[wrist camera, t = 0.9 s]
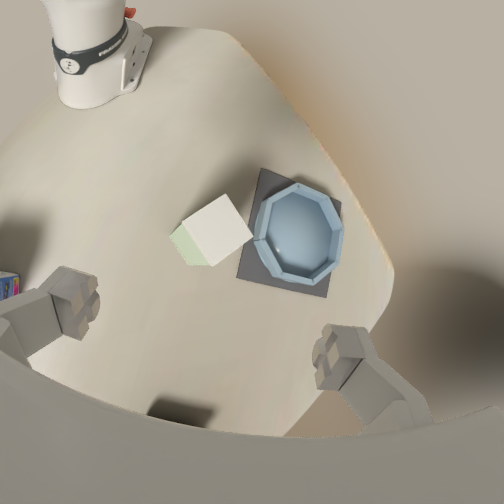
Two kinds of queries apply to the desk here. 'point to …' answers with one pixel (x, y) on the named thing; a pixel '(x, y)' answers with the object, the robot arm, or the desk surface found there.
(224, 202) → the tea tin
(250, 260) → the mat
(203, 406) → the desk surface
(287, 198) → the bowl
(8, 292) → the ink cartridge box
